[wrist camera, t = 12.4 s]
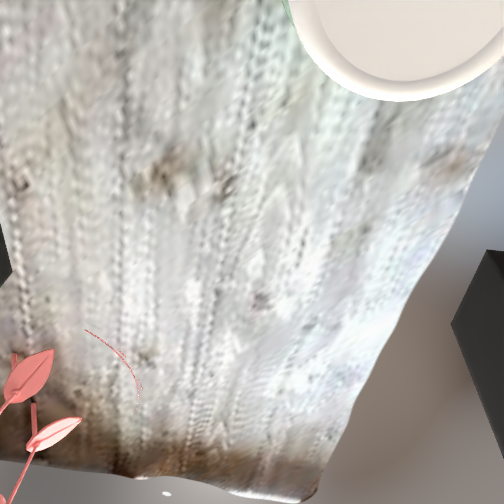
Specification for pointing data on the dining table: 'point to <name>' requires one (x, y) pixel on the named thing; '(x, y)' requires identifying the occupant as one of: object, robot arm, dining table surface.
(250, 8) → the dining table surface
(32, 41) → the dining table surface
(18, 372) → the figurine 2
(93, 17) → the dining table surface
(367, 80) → the white thick disc
